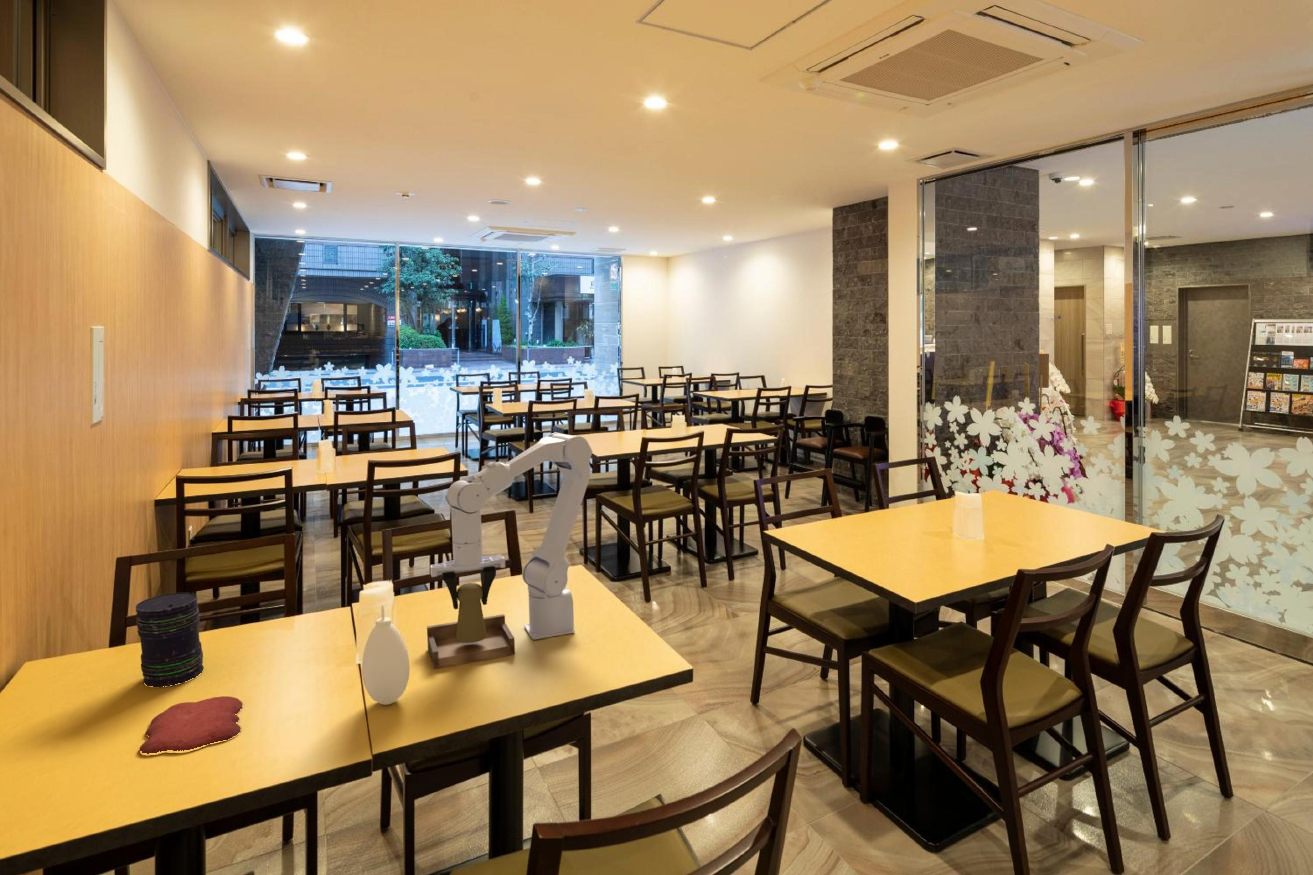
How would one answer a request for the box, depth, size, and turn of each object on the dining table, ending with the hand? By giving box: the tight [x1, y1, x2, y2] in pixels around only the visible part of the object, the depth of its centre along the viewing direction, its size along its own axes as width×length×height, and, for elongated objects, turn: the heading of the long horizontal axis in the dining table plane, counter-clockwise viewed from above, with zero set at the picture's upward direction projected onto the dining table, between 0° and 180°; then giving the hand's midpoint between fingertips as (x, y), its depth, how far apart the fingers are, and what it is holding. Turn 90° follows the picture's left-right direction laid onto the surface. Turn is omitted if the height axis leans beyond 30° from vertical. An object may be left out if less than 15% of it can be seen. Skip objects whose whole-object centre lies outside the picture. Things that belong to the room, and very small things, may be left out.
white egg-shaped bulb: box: [361, 604, 411, 706], centre depth 125 cm, size 8×8×18 cm
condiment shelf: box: [426, 613, 516, 670], centre depth 146 cm, size 16×10×5 cm, turn 114°
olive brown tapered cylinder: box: [456, 582, 486, 643], centre depth 144 cm, size 6×6×11 cm
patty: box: [139, 695, 244, 754], centre depth 118 cm, size 18×14×2 cm
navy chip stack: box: [135, 592, 205, 688], centre depth 135 cm, size 10×10×15 cm
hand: (470, 605), depth 144 cm, fingers closed on olive brown tapered cylinder, 5 cm apart
